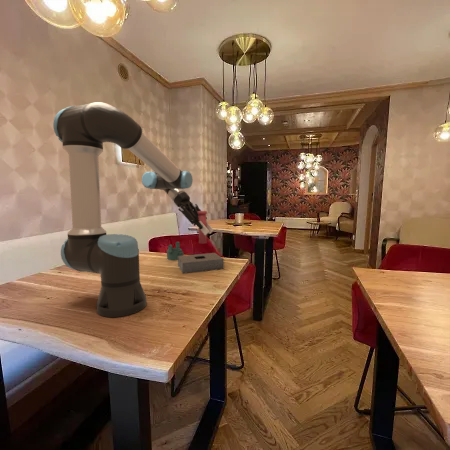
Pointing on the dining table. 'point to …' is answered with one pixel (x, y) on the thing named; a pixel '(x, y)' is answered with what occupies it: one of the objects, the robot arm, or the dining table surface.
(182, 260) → the socket block
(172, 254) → the green knobbed block
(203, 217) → the pin
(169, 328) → the dining table surface
